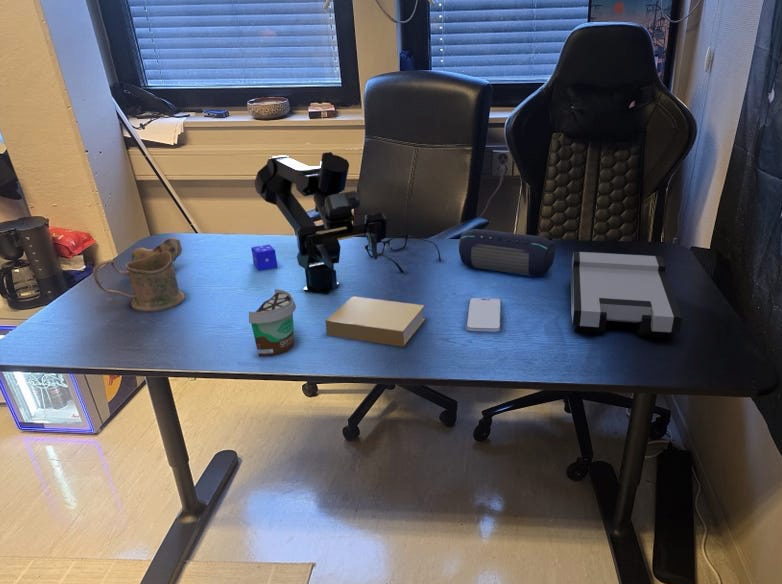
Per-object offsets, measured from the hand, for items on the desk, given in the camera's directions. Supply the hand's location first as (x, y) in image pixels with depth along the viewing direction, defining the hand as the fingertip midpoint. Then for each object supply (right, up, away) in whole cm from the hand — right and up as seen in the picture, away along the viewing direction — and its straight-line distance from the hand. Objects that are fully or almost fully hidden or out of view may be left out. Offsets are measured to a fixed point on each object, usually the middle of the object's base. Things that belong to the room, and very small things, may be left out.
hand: (354, 262), depth 127 cm
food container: (-14, -17, -1) cm, 22 cm away
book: (+4, -13, +7) cm, 15 cm away
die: (-29, +5, +39) cm, 49 cm away
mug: (-51, -7, +17) cm, 54 cm away
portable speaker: (+34, +3, +36) cm, 50 cm away
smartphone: (+27, -10, +12) cm, 31 cm away
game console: (+57, -9, +14) cm, 59 cm away
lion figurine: (-56, +3, +35) cm, 66 cm away
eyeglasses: (+7, +7, +44) cm, 45 cm away
